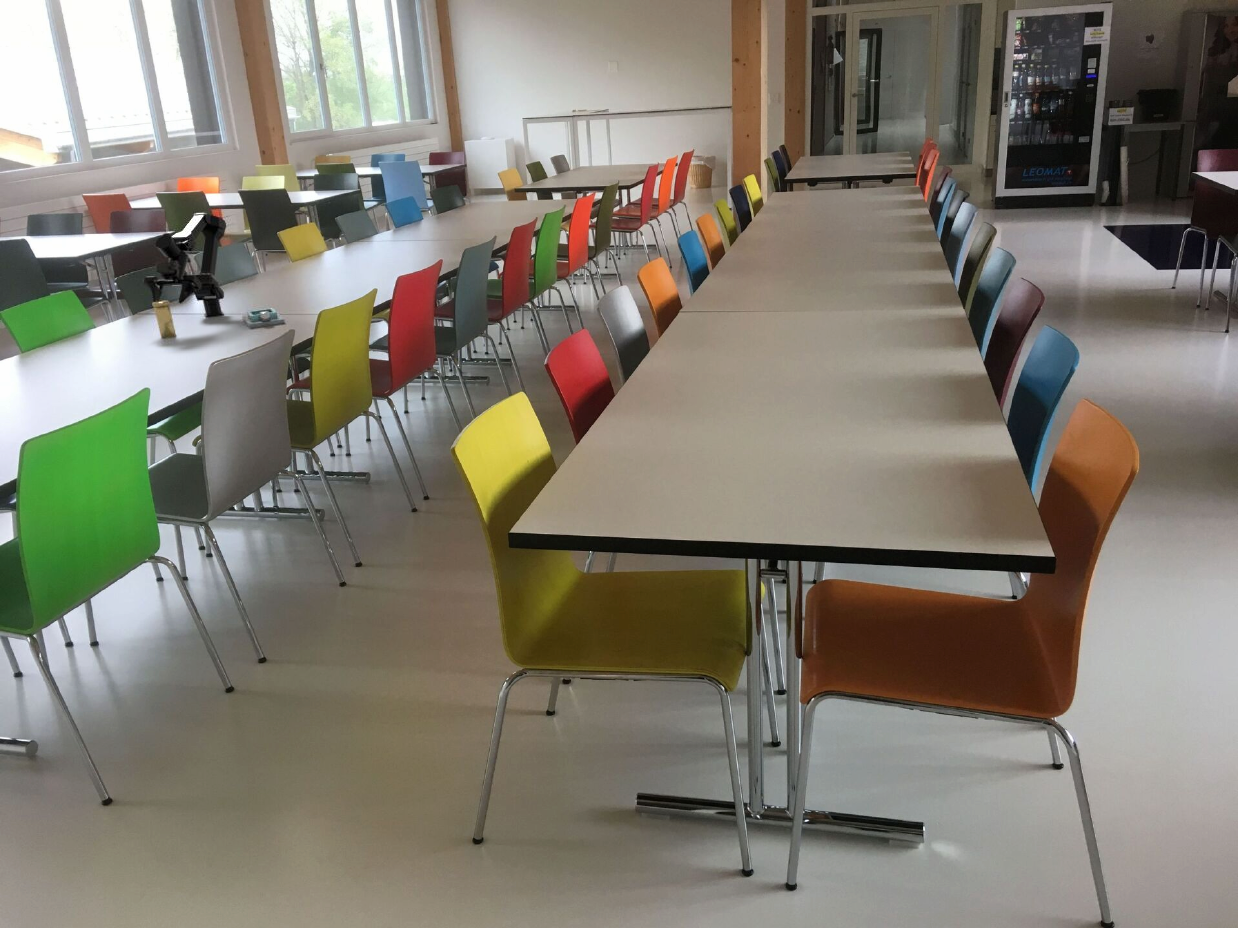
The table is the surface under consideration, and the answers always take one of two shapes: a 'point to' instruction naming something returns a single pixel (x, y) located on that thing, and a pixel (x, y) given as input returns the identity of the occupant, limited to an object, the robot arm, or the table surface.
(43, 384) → the table surface
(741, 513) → the table surface
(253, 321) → the manifold board
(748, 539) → the table surface
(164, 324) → the brass fitting
